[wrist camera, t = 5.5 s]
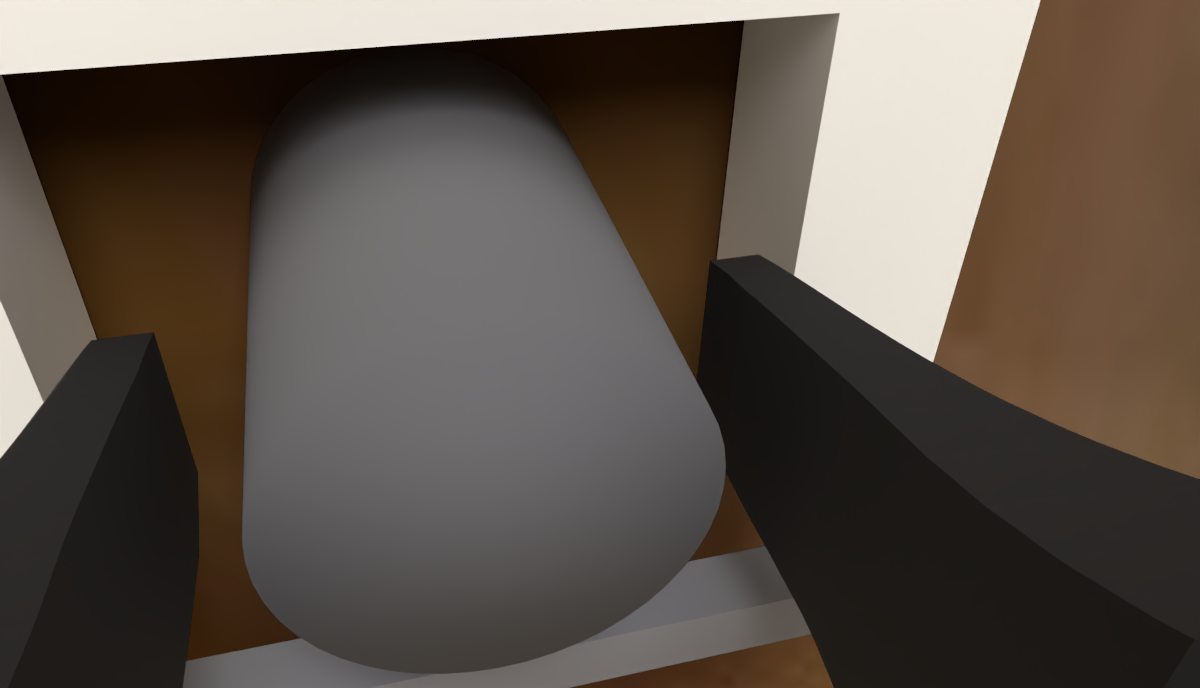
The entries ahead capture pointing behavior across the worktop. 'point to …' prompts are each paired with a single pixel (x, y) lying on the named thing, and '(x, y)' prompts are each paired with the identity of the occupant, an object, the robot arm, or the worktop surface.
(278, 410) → the grey rounded cylinder
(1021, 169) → the worktop surface
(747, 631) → the white frame with crossbar
